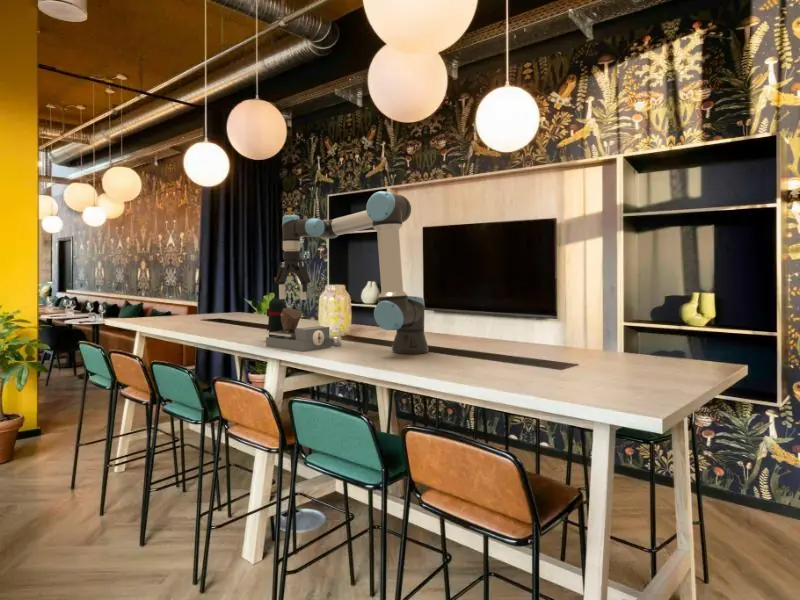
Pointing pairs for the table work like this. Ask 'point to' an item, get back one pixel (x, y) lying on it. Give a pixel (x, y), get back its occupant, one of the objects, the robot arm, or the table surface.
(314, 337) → the scale base
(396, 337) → the robot arm
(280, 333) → the pan
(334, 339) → the spacer
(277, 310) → the wine bottle
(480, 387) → the table surface
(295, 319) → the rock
